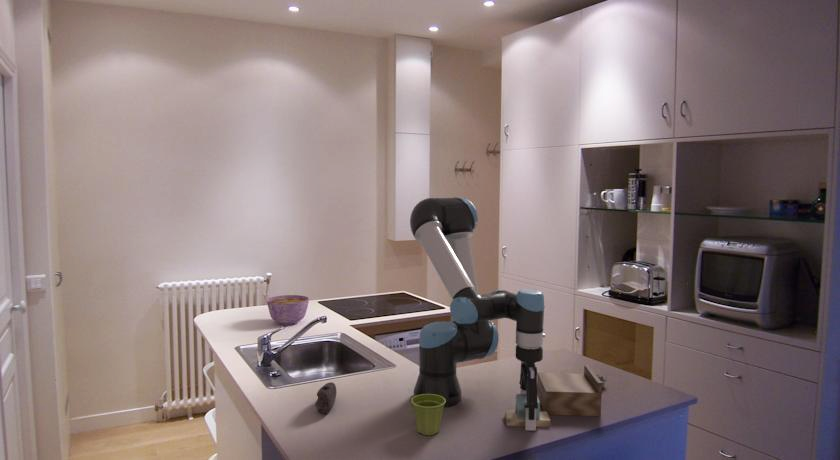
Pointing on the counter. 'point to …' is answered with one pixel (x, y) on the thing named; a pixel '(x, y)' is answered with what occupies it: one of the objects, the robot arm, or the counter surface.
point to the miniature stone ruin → (602, 380)
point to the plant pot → (428, 412)
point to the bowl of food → (287, 308)
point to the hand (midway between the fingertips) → (527, 420)
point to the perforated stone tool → (326, 398)
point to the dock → (570, 393)
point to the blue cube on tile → (520, 413)
